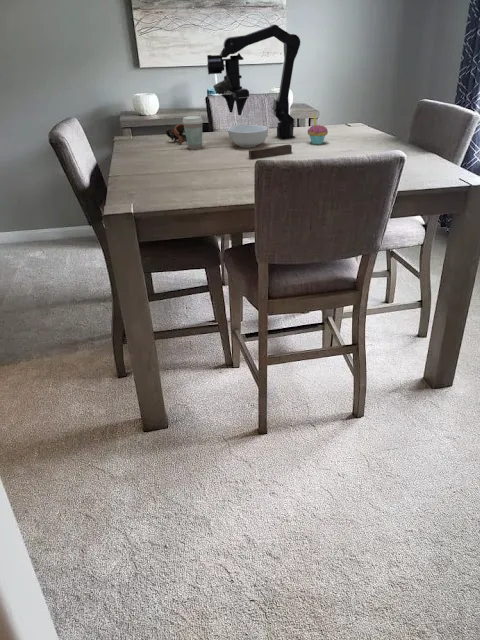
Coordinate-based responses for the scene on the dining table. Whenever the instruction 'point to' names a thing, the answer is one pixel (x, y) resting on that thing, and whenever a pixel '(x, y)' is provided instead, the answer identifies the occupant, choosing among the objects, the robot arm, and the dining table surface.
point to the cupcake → (317, 133)
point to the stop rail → (270, 151)
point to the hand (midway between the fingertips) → (235, 113)
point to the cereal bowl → (248, 135)
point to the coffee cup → (193, 131)
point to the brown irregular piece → (177, 133)
